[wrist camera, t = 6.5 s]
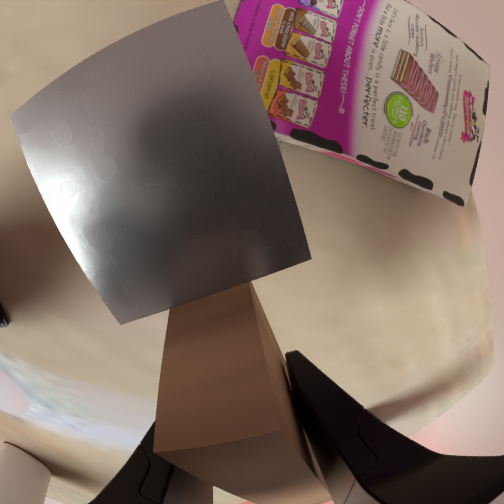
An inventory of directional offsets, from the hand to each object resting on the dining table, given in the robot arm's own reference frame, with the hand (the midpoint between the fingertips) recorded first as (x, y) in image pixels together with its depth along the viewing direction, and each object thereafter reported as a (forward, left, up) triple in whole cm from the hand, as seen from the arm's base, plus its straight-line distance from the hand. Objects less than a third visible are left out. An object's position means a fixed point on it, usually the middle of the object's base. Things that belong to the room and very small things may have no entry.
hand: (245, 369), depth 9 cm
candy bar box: (+13, -2, -9) cm, 16 cm away
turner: (+1, 0, -1) cm, 2 cm away
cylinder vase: (-37, +53, -11) cm, 65 cm away
